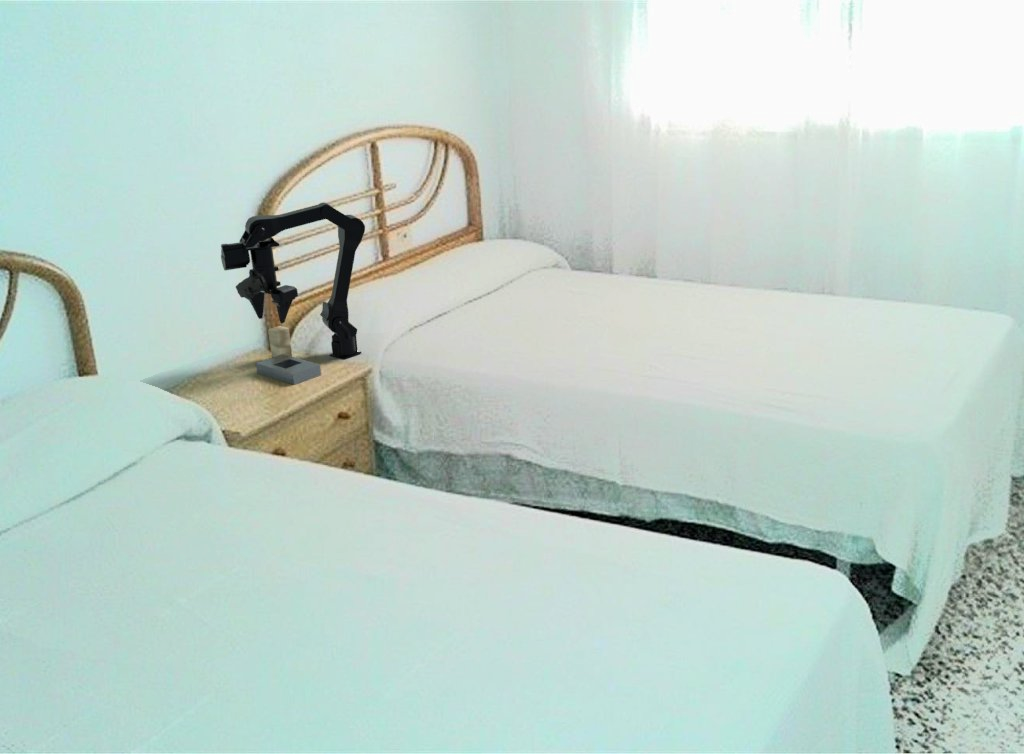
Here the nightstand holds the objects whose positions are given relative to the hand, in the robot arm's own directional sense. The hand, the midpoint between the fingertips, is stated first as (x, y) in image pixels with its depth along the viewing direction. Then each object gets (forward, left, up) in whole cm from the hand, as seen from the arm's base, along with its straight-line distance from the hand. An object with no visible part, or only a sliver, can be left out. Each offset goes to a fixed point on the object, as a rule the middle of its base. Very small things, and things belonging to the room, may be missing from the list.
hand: (271, 320), depth 281 cm
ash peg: (-5, -4, -13) cm, 14 cm away
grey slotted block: (+2, +8, -13) cm, 16 cm away
